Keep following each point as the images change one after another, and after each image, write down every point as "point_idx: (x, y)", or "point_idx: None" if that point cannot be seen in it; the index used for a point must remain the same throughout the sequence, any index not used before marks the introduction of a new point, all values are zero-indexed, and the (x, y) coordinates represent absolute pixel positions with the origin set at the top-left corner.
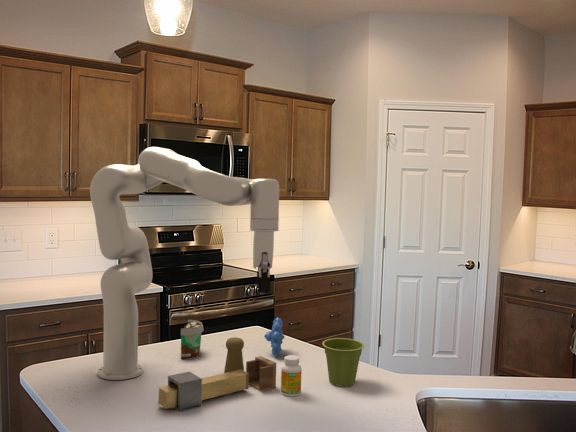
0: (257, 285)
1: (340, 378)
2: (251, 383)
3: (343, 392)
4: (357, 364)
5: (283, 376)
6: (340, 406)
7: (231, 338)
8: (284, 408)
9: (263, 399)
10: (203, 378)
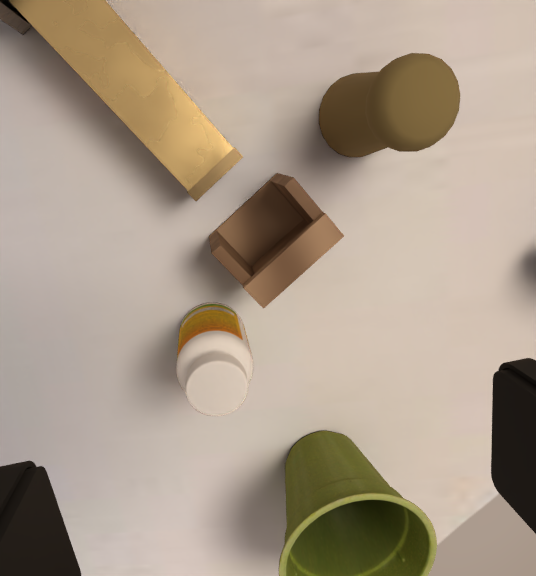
0: (501, 366)
1: (286, 478)
2: (265, 196)
3: (242, 470)
4: (315, 550)
5: (188, 333)
6: (133, 470)
7: (424, 80)
8: (79, 326)
9: (140, 253)
10: (96, 2)
